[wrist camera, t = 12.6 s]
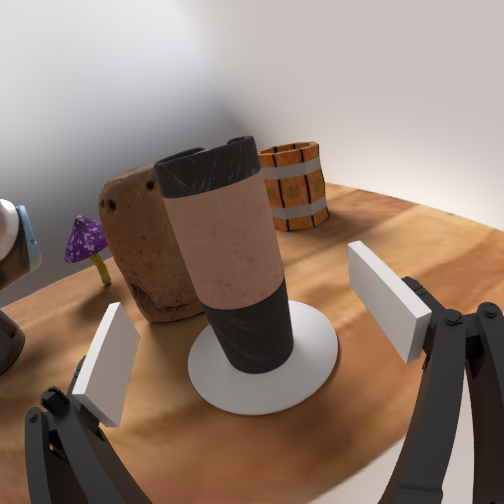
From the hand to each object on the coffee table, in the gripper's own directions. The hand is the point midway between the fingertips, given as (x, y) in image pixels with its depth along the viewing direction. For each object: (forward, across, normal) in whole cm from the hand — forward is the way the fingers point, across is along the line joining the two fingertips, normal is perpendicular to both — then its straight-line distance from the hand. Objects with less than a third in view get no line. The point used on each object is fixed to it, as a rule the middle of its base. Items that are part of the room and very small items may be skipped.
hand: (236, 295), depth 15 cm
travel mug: (+8, 0, -13) cm, 15 cm away
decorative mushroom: (+33, -28, -13) cm, 46 cm away
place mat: (+8, 0, -13) cm, 15 cm away
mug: (+44, +12, -13) cm, 48 cm away
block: (+20, -10, -13) cm, 26 cm away
